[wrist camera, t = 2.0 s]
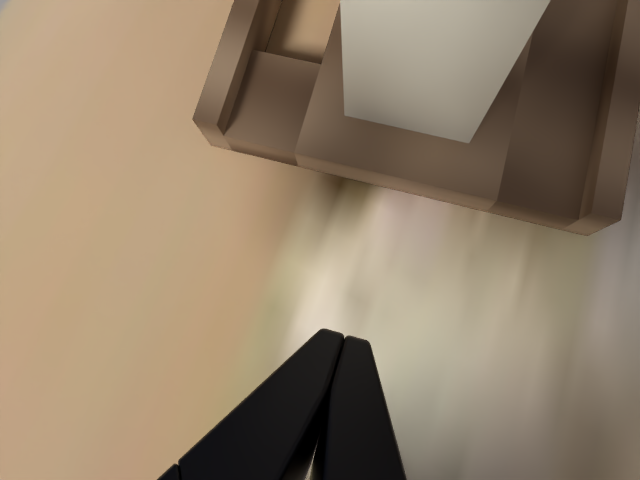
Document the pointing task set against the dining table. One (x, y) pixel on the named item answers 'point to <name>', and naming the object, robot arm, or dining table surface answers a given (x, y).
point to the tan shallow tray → (441, 153)
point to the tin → (431, 60)
